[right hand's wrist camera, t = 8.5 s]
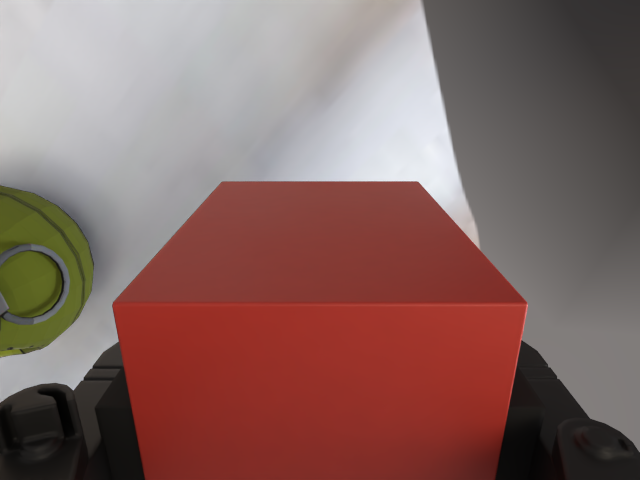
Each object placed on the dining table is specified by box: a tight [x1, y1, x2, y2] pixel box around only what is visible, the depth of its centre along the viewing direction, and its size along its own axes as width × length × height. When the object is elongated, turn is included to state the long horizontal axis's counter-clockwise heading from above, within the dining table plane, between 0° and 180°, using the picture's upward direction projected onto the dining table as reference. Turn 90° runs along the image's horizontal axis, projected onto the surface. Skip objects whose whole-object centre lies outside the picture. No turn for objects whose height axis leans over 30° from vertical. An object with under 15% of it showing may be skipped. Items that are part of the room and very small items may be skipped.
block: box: [112, 182, 528, 480], centre depth 12 cm, size 7×7×8 cm
